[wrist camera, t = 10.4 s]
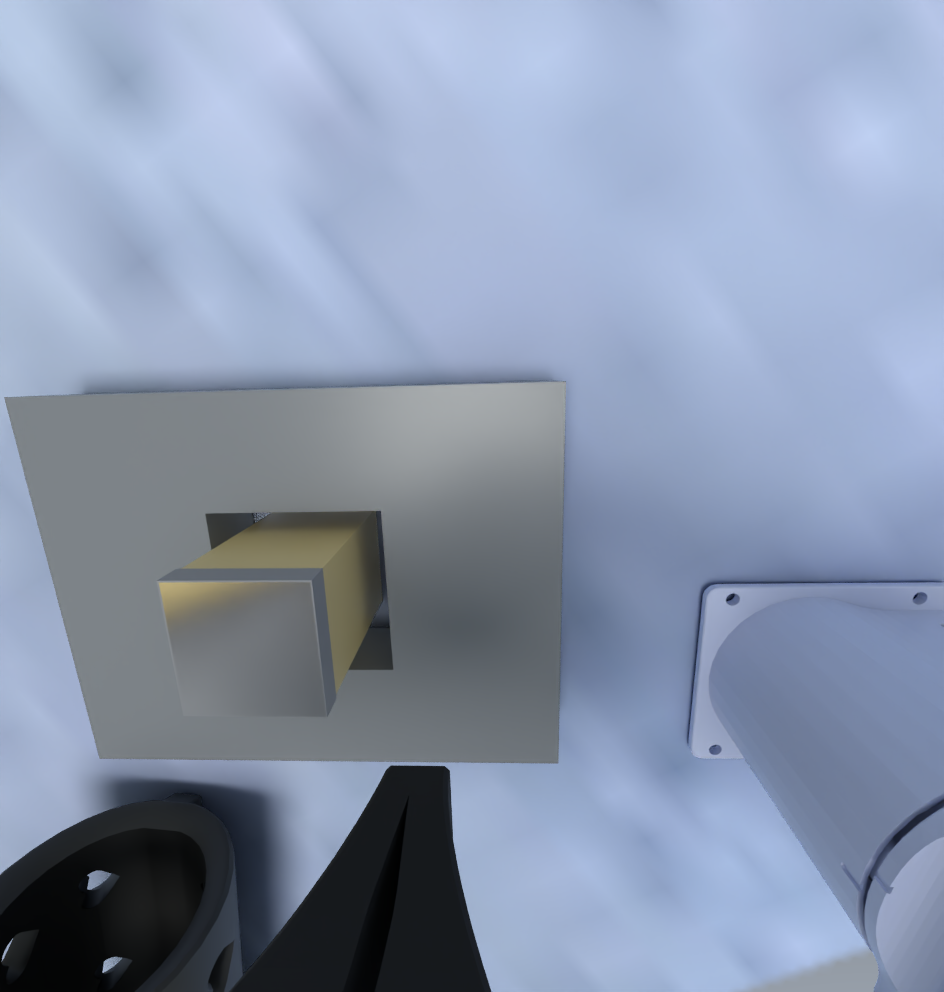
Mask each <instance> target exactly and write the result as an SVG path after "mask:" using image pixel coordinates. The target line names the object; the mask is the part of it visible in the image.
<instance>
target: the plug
mask: <svg viewBox="0 0 944 992" xmlns="http://www.w3.org/2000/svg"><path fill="white" fill-rule="evenodd" d="M157 586H158V591H159V596H160V601H161V606H162V611H163V616H164V621H165V626H166V631H167V636H168V641H169V646H170V651H171V656H172V661H173V666H174V671H175V676H176V681H177V686H178V691H179V696H180V701H181V706H182V711H183V716H223V717H307V718H327V717H328V715H329V713H330V711H331V709H332V707H333V705H334V703H335V701H336V699H337V698H336V694H337V692H338V689H339V687H340V685H341V683H342V681H343V679H344V677H345V675H346V673H347V671H348V669H349V667H350V665H351V663H352V661H353V659H354V657H355V655H356V653H357V651H358V649H359V647H360V645H361V643H362V641H363V639H364V637H365V635H366V633H367V631H368V629H369V627H370V625H371V623H372V621H373V619H374V617H375V615H376V613H377V611H378V609H379V607H380V604H381V602H382V600H383V598H382V585H381V571H380V558H379V544H378V531H377V517H376V511H337V512H272V513H271V514H269V515H267V516H266V517H264V518H263V519H261V520H259V521H258V522H256V523H254V524H253V525H251V526H250V527H248V528H246V529H245V530H243V531H241V532H240V533H238V534H237V535H235V536H233V537H232V538H230V539H228V540H227V541H225V542H224V543H222V544H220V545H219V546H217V547H216V548H214V549H212V550H211V551H209V552H207V553H206V554H204V555H203V556H201V557H199V558H198V559H196V560H194V561H193V562H191V563H190V564H188V565H186V566H185V567H183V568H181V569H175V570H173V571H172V572H170V573H168V574H167V575H165V576H163V577H162V578H160V579H159V580H157Z"/></svg>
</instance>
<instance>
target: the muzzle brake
mask: <svg viewBox="0 0 944 992" xmlns="http://www.w3.org/2000/svg"><path fill="white" fill-rule="evenodd" d="M96 870H102V871H106V872H109V873H112V874H111V875H110V877H109V878H108V879H107V880H106V881H105V882H103V883H102V884H101V885H99V886H97V887H96V888H94V889H92V890H88V889H87V886H88V881H89V876H87V875H88V874H90V873H91V872H94V871H96ZM12 939H13V940H12ZM11 940H12V942H11V944H10V947H9V949H8V951H7V953H6V955H5V958H4V959H3V961H2V956H3V953H4V951H5V949H6V947H7V945H8V944H9V942H10V941H11ZM110 957H121V958H122V960H121V961H120V962H119V963H117V964H116V965H115V966H114V967H113V968H111V969H109V970H108V971H106V972H104V973H102V971H103V963H104V961H105V960H106V959H108V958H110ZM1 961H2V962H1ZM242 976H243V967H242V954H241V940H240V926H239V912H238V899H237V885H236V871H235V857H234V848H233V845H232V841H231V837H230V833H229V832H228V830H227V829H226V827H225V825H224V824H223V822H222V821H221V820H220V819H219V818H218V817H217V816H216V815H214V814H213V813H212V812H211V811H210V810H208V809H205V808H203V807H202V801H201V796H200V795H191V794H181V793H175V794H173V795H172V796H170V797H168V798H167V799H165V800H164V801H162V800H152V801H145V802H139V803H132V804H128V805H125V806H121V807H118V808H114V809H110V810H108V811H105V812H103V813H100V814H98V815H95V816H92V817H90V818H87V819H85V820H83V821H81V822H79V823H77V824H75V825H73V826H71V827H69V828H67V829H65V830H63V831H62V832H60V833H58V834H56V835H55V836H53V837H52V838H50V839H49V840H47V841H45V842H44V843H42V844H41V845H39V846H38V847H36V848H34V849H33V850H31V851H30V852H29V853H27V854H26V855H25V856H23V857H22V858H21V859H19V860H18V861H17V862H15V863H14V864H13V865H11V866H10V867H9V868H7V869H6V870H5V871H4V872H3V873H2V874H1V875H0V992H229V991H230V990H231V989H232V988H233V987H234V985H235V984H236V983H237V982H238V981H239V980H240V978H241V977H242Z"/></svg>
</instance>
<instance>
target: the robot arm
mask: <svg viewBox="0 0 944 992" xmlns="http://www.w3.org/2000/svg"><path fill="white" fill-rule="evenodd" d="M733 593H735V596H734V598H733V599H732V600H730V601H726V598H727V596H728V595H730V594H733ZM917 593H918V595H917V597H916V598H915V599H913V597H914V595H916V594H917ZM688 745H689V749H690V750H691V752H692V754H693V755H694V756H695V757H697V758H702V759H745V760H746V762H747V763H748V765H749V766H750V768H751V769H752V771H753V772H754V774H755V775H756V777H757V778H758V780H759V781H760V783H761V784H762V786H763V787H764V789H765V790H766V792H767V794H768V795H769V797H770V798H771V800H772V801H773V803H774V804H775V806H776V807H777V809H778V810H779V812H780V813H781V815H782V816H783V818H784V819H785V821H786V822H787V824H788V825H789V827H790V829H791V830H792V832H793V833H794V835H795V836H796V838H797V839H798V841H799V842H800V844H801V845H802V847H803V848H804V850H805V851H806V853H807V854H808V856H809V857H810V859H811V860H812V862H813V863H814V865H815V867H816V868H817V870H818V871H819V873H820V874H821V876H822V877H823V879H824V880H825V882H826V883H827V885H828V886H829V888H830V889H831V891H832V892H833V894H834V895H835V897H836V898H837V900H838V902H839V903H840V905H841V906H842V908H843V909H844V911H845V912H846V914H847V915H848V917H849V918H850V920H851V921H852V923H853V924H854V926H855V927H856V929H857V930H858V932H859V933H860V935H861V937H862V938H863V940H864V941H865V943H866V944H867V946H868V947H869V949H870V950H871V951H872V952H873V954H874V956H875V959H876V961H877V963H878V968H879V976H878V980H877V983H876V985H875V987H874V992H944V583H943V582H925V583H792V584H715V585H711V586H709V587H708V588H707V589H706V590H705V591H704V594H703V600H702V610H701V620H700V630H699V640H698V650H697V660H696V670H695V680H694V690H693V700H692V710H691V720H690V730H689V741H688ZM712 745H716V746H715V747H713V748H710V747H711V746H712ZM229 992H491V989H490V986H489V983H488V980H487V977H486V973H485V970H484V967H483V964H482V960H481V957H480V953H479V950H478V947H477V943H476V940H475V936H474V933H473V929H472V925H471V921H470V918H469V914H468V910H467V906H466V901H465V897H464V893H463V889H462V885H461V880H460V875H459V871H458V866H457V860H456V854H455V849H454V843H453V829H452V808H451V787H450V771H449V770H448V769H447V768H446V767H445V766H390V767H389V768H388V769H387V770H386V771H385V773H384V775H383V777H382V779H381V781H380V783H379V785H378V787H377V788H376V790H375V792H374V794H373V796H372V797H371V799H370V801H369V803H368V804H367V806H366V808H365V809H364V811H363V813H362V814H361V816H360V818H359V819H358V821H357V823H356V824H355V826H354V827H353V829H352V830H351V832H350V833H349V835H348V837H347V838H346V840H345V841H344V843H343V844H342V846H341V847H340V849H339V851H338V852H337V854H336V855H335V857H334V858H333V860H332V861H331V863H330V864H329V865H328V867H327V868H326V870H325V871H324V872H323V874H322V875H321V877H320V878H319V880H318V881H317V882H316V884H315V885H314V887H313V888H312V889H311V891H310V892H309V894H308V895H307V896H306V898H305V899H304V901H303V902H302V903H301V905H300V906H299V907H298V909H297V910H296V911H295V912H294V914H293V915H292V916H291V918H290V919H289V920H288V922H287V923H286V924H285V925H284V927H283V928H282V929H281V931H280V932H279V933H278V934H277V936H276V937H275V938H274V939H273V940H272V942H271V943H270V944H269V945H268V947H267V948H266V949H265V950H264V952H263V953H262V954H261V955H260V956H259V958H258V959H257V960H256V961H255V962H254V963H253V965H252V966H251V967H250V968H249V969H248V970H247V972H246V973H245V974H244V975H243V976H242V977H241V978H240V980H239V981H238V982H237V983H236V984H235V985H234V987H233V988H232V989H231V990H230V991H229Z"/></svg>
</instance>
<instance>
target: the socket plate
mask: <svg viewBox="0 0 944 992" xmlns="http://www.w3.org/2000/svg"><path fill="white" fill-rule="evenodd" d="M565 395H566V382H564V381H525V382H489V383H454V384H419V385H383V386H348V387H313V388H277V389H242V390H207V391H171V392H136V393H101V394H71V395H49V396H26V397H4V398H5V402H6V406H7V410H8V414H9V417H10V421H11V425H12V429H13V433H14V436H15V440H16V444H17V448H18V451H19V455H20V459H21V463H22V467H23V470H24V474H25V478H26V482H27V485H28V489H29V493H30V497H31V501H32V504H33V508H34V512H35V516H36V520H37V523H38V527H39V531H40V535H41V538H42V542H43V546H44V550H45V554H46V557H47V561H48V565H49V569H50V573H51V576H52V580H53V584H54V588H55V591H56V595H57V599H58V603H59V607H60V610H61V614H62V618H63V622H64V625H65V629H66V633H67V637H68V641H69V644H70V648H71V652H72V656H73V660H74V663H75V667H76V671H77V675H78V678H79V682H80V686H81V690H82V694H83V697H84V701H85V705H86V709H87V712H88V716H89V720H90V724H91V728H92V731H93V735H94V739H95V743H96V747H97V750H98V754H99V758H100V759H188V760H282V761H377V762H471V763H558V749H559V699H560V648H561V597H562V547H563V496H564V446H565ZM337 511H381V519H382V532H383V545H384V557H385V570H386V583H387V596H388V609H389V621H390V627H379V628H369V629H368V631H367V633H366V635H365V637H364V639H363V641H362V643H361V645H360V647H359V649H358V651H357V653H356V655H355V657H354V659H353V661H352V663H351V665H350V667H349V669H348V671H347V673H346V675H345V677H344V679H343V681H342V683H341V685H340V687H339V689H338V692H337V694H336V698H337V699H336V701H335V703H334V705H333V707H332V709H331V711H330V713H329V715H328V717H327V718H307V717H223V716H183V711H182V706H181V701H180V696H179V691H178V686H177V681H176V676H175V671H174V666H173V661H172V656H171V651H170V646H169V641H168V636H167V631H166V626H165V621H164V616H163V611H162V606H161V601H160V596H159V591H158V586H157V580H159V579H160V578H162V577H163V576H165V575H167V574H168V573H170V572H172V571H173V570H175V569H181V568H183V567H185V566H186V565H188V564H190V563H191V562H193V561H194V560H196V559H198V558H199V557H201V556H203V555H204V554H206V553H207V552H209V551H211V550H212V549H214V548H216V547H217V546H219V545H220V544H222V543H224V542H225V541H227V540H228V539H230V538H232V537H233V536H235V535H237V534H238V533H240V532H241V531H243V530H245V529H246V528H248V527H250V526H251V525H253V524H254V521H253V514H252V513H272V512H337Z"/></svg>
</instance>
